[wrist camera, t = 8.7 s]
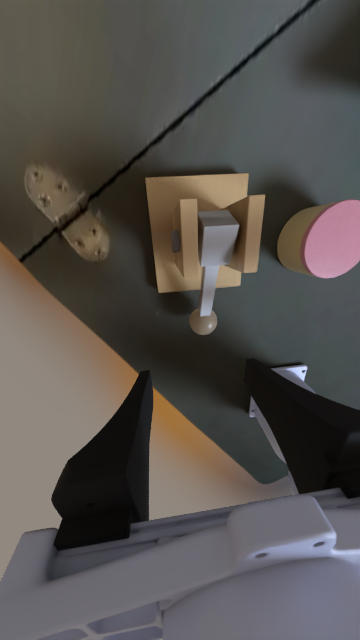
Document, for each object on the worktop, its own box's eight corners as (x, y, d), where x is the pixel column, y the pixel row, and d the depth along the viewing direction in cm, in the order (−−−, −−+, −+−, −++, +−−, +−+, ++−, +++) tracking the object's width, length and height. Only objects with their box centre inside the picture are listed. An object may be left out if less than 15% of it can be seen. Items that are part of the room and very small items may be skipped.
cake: (324, 268, 22) (360, 275, 18) (272, 273, 21) (297, 281, 17) (341, 205, 19) (386, 197, 15) (282, 209, 18) (314, 201, 15)
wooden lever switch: (236, 283, 21) (278, 308, 14) (158, 290, 20) (157, 320, 13) (243, 177, 17) (310, 127, 9) (146, 181, 16) (134, 132, 9)
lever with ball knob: (211, 318, 22) (218, 338, 20) (187, 320, 22) (191, 341, 20) (232, 207, 13) (247, 226, 11) (190, 210, 13) (198, 229, 11)
